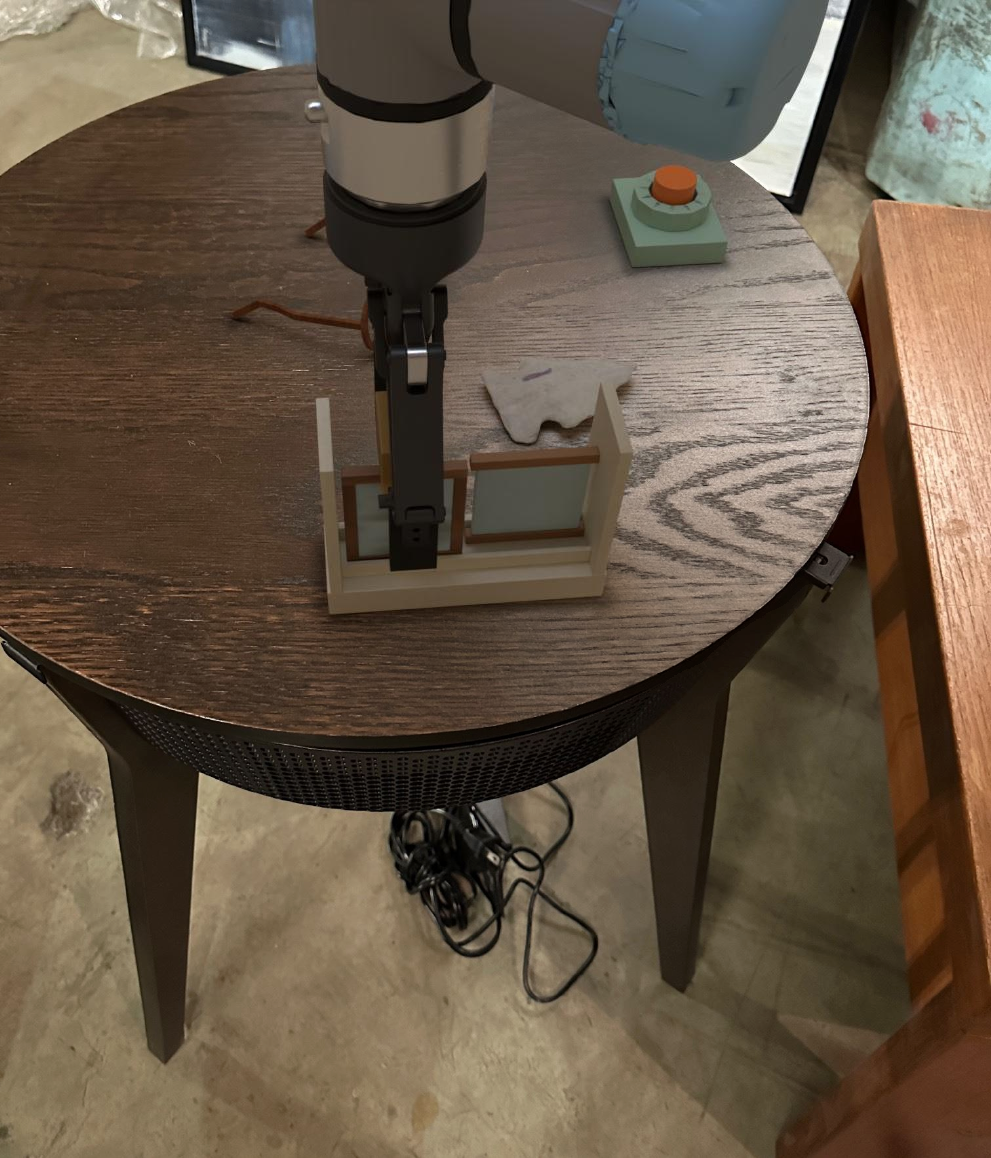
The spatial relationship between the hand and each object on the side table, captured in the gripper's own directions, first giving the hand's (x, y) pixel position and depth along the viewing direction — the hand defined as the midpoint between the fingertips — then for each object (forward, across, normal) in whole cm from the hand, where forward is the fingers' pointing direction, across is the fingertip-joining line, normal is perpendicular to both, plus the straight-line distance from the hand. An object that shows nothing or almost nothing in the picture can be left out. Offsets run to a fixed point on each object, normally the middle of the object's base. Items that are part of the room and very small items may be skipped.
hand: (404, 489), depth 67 cm
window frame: (+9, -1, +4) cm, 10 cm away
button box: (+9, -37, +26) cm, 47 cm away
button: (+6, -37, +26) cm, 46 cm away
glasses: (+10, -31, -3) cm, 32 cm away
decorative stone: (+10, -17, +14) cm, 24 cm away
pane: (+7, 0, 0) cm, 7 cm away
